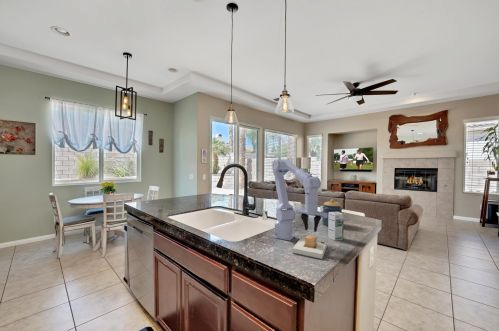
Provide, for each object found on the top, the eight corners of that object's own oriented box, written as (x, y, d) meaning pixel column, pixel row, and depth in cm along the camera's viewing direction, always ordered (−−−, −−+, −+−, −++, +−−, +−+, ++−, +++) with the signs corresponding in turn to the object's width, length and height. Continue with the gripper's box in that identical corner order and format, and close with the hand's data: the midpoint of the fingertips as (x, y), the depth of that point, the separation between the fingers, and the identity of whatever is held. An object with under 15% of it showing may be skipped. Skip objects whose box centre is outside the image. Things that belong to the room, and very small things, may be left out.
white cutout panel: (292, 253, 98) (292, 247, 98) (301, 242, 112) (301, 236, 112) (322, 259, 92) (322, 252, 92) (327, 247, 106) (327, 241, 106)
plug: (304, 249, 101) (305, 237, 101) (308, 246, 106) (308, 234, 106) (313, 251, 99) (313, 239, 99) (316, 247, 104) (316, 236, 104)
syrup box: (334, 241, 115) (335, 214, 115) (327, 237, 120) (328, 211, 120) (343, 240, 116) (344, 213, 116) (336, 236, 122) (337, 211, 122)
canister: (328, 221, 155) (328, 196, 155) (345, 225, 145) (346, 199, 145) (318, 224, 146) (318, 198, 146) (336, 228, 136) (336, 201, 136)
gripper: (329, 202, 101) (328, 231, 102) (299, 199, 109) (298, 225, 109) (325, 204, 95) (325, 235, 96) (294, 201, 103) (294, 229, 103)
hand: (310, 230), depth 102 cm, fingers open, 4 cm apart
